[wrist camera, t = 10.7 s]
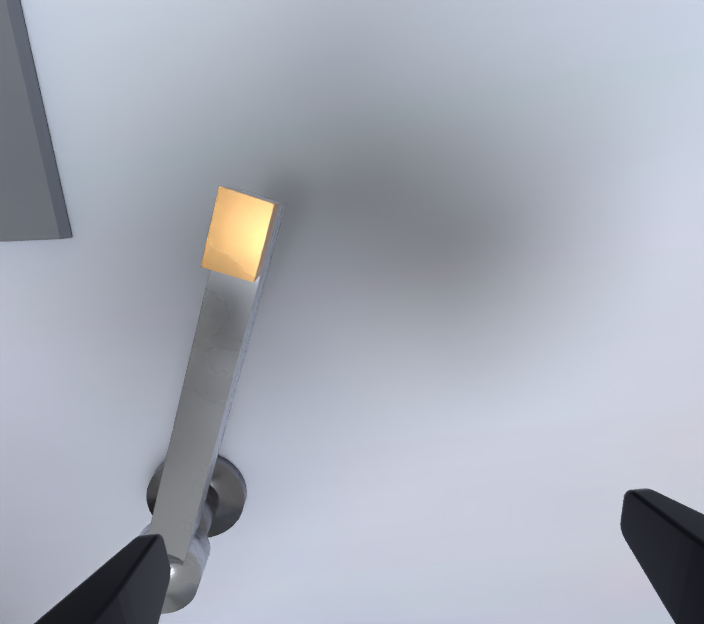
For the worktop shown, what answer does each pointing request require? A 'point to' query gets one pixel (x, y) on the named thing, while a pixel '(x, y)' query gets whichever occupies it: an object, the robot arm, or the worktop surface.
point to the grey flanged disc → (213, 497)
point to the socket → (25, 142)
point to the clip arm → (212, 379)
